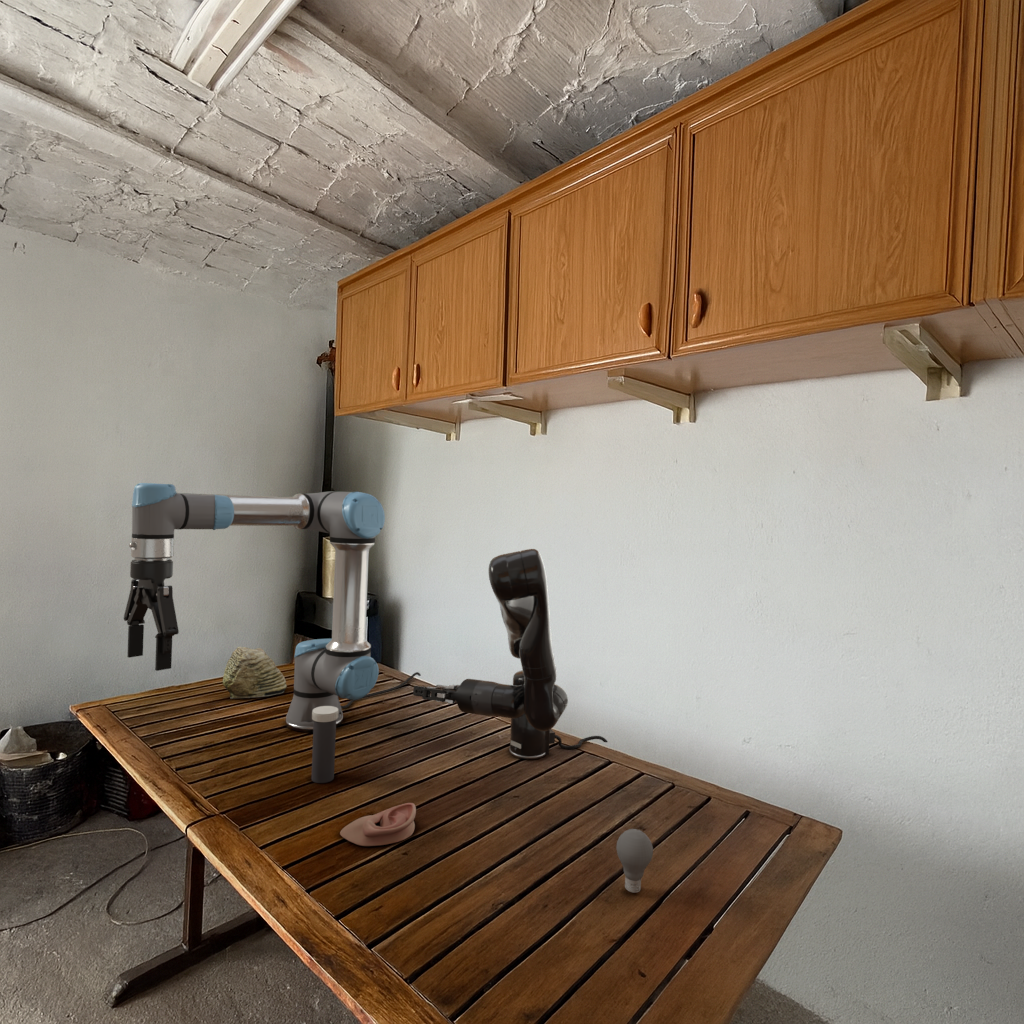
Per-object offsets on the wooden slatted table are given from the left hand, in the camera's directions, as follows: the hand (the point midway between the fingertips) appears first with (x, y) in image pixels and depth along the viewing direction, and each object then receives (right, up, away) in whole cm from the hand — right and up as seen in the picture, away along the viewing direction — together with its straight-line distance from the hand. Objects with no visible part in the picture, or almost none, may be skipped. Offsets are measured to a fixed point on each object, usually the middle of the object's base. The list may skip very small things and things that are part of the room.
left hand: (148, 662), depth 129 cm
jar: (+32, -29, +13) cm, 45 cm away
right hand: (+53, -12, +22) cm, 59 cm away
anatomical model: (+49, -30, -8) cm, 58 cm away
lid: (+32, -14, +13) cm, 37 cm away
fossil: (-6, -27, +69) cm, 74 cm away
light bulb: (+94, -33, -24) cm, 103 cm away
